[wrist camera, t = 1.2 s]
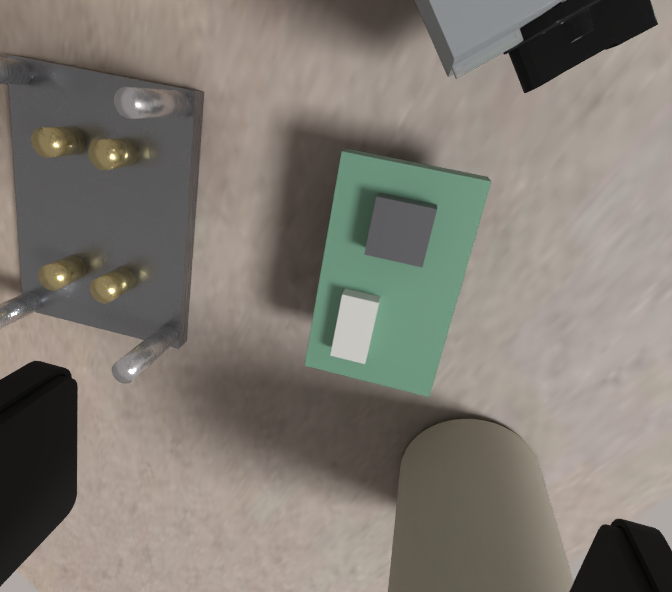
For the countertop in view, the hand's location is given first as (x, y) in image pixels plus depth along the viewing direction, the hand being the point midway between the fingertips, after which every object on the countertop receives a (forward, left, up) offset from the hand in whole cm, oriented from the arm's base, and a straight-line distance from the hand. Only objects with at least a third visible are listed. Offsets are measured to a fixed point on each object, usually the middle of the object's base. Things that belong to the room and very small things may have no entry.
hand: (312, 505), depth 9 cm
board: (0, 0, -15) cm, 15 cm away
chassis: (+1, -16, -18) cm, 24 cm away
